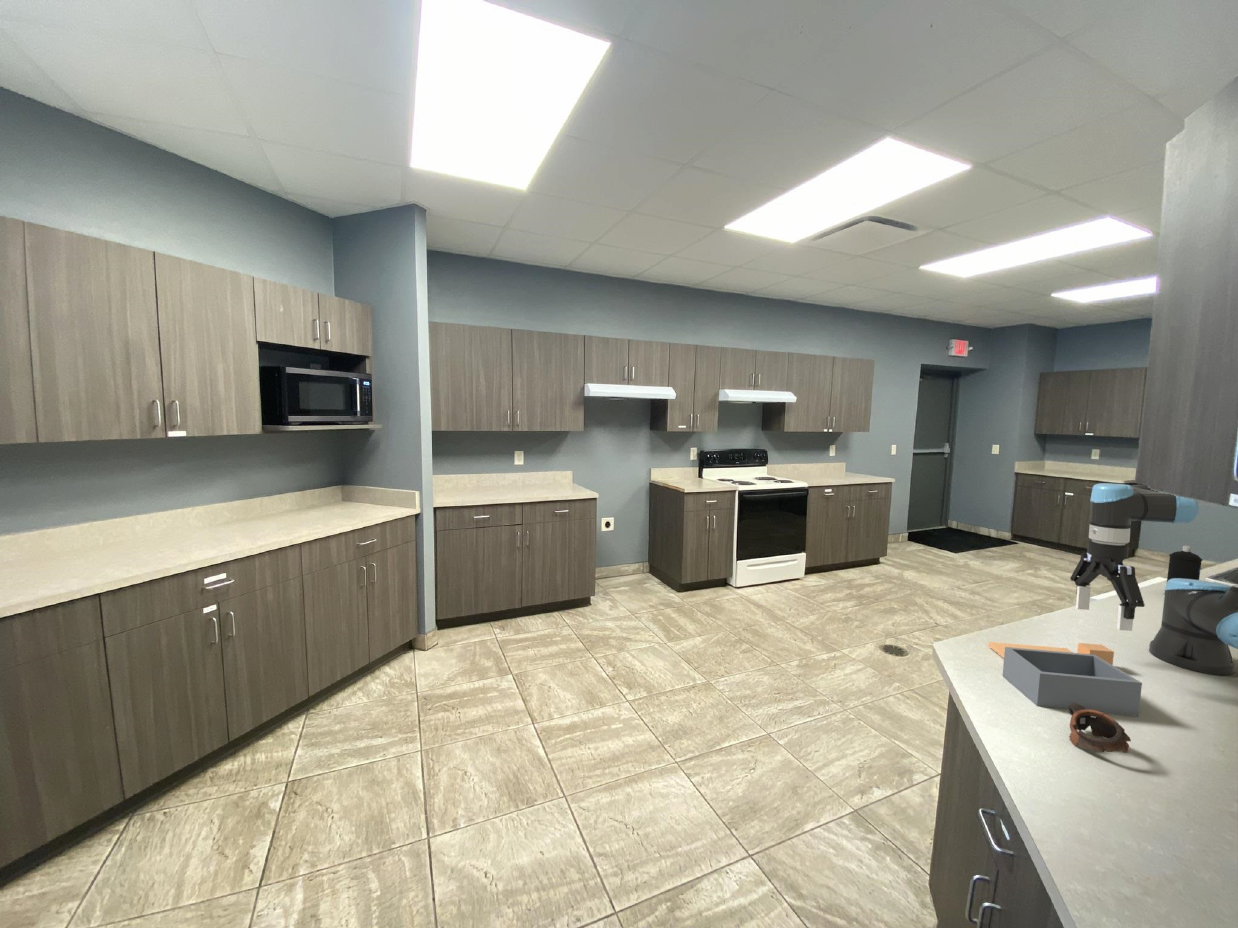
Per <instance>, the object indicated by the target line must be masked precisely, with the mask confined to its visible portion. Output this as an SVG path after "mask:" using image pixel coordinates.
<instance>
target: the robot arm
mask: <svg viewBox="0 0 1238 928" xmlns="http://www.w3.org/2000/svg"><path fill="white" fill-rule="evenodd" d="M1089 500H1090V501H1089V502H1090V510H1089V511H1090V512H1089V513H1090V514H1089V527H1088V529H1089V530H1088V538H1089V539H1090V540H1088V541H1087V549H1086V550H1087V551H1086V552H1081V554H1080V559H1079V562H1078V563H1077V565H1076V567H1075V569H1074V570H1073V572H1072V574H1071V576H1070V581H1072V582H1074V584H1075V585H1076V590H1075V591H1076V592H1075V595H1076V600H1075V601H1076V602H1075V609H1076V610H1088V611H1089V610H1090V604H1091V603H1090V601H1091V589H1092V588H1091V587H1090V586H1091V583H1092V582H1093V581H1094V580H1096V578H1098V576H1100V575H1101V576H1103V578H1106V579H1107V581H1108V582H1110V584H1111V585H1112V587H1113V588H1114V592H1115V593H1116V595H1117V596H1118V598H1119V600H1120V602H1121V603H1119V604H1118V611H1117V622H1116V623H1117V625H1116V630H1118V631H1129V632H1132V631H1133V625H1134V623H1133V622H1134V619H1135V614H1136V608H1144V607H1145V601H1144V599H1143V595H1142V592H1141V590H1140V586H1139V583H1138V581H1137V578H1136V568H1135V566H1128V565H1125V564H1124V562H1123V561H1124V560H1126V559H1128V558H1129V548H1130V546H1129V545H1128V543H1130V539H1131V538H1130V537H1131V525H1132V524H1131V523H1132V521H1133V522H1154V523H1155V522H1157V523H1171V524H1176V523H1177V524H1178V523H1179V524H1180V523H1181V524H1182V523H1183V524H1185V523H1186V524H1187V523H1191V522H1193V521H1194V520H1196V519H1197V517H1198V515H1199V509H1200V506H1202V505H1211V503H1206V502H1200V501H1198V500H1193V499H1187V498H1184V497H1179V496H1174V495H1171V494H1166V493H1161V492H1159V491H1154V490H1151V489H1150V488H1148V487H1147V486H1145V485H1140V483H1139V484H1133V485H1130V484H1124V483H1111V482H1110V483H1109V482H1108V483H1107V482H1106V483H1104V482H1103V483H1101V482H1100V483H1097V484H1094V485H1092V489H1091V496H1090V499H1089ZM1163 591H1164V593H1165V594H1164V600H1163V606H1162V607H1163V608H1162V618H1161V625H1160V628H1159V630H1158V631H1157V633H1156V635H1155V636H1154V638H1153V639H1152V640H1151V641H1150V643H1149V646H1148V651H1149V652H1148V653H1150V654H1151V655H1152V656H1154V657H1156V658H1157V659H1159V660H1161V661H1164V662H1166V663H1169V664H1172V665H1174V666H1177V667H1181V668H1183V669H1188V670H1192V671H1195V672H1199V673H1204V674H1205V673H1206V674H1210V675H1217V676H1218V675H1219V676H1229V675H1233V674H1234V673H1235V667H1236V664H1235V661H1234V660H1233V657H1232V653H1231V650H1230V648H1233V649H1236V650H1238V584H1232V585H1230V584H1225V583H1221V582H1216V581H1215V582H1214V581H1208V580H1202V579H1201V580H1200V579H1199V580H1193V579H1182V578H1173V579H1170V580H1168V581H1167V580H1166V585H1165V589H1164V590H1163Z"/></svg>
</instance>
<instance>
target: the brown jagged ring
mask: <svg viewBox="0 0 1238 928" xmlns="http://www.w3.org/2000/svg"><path fill="white" fill-rule="evenodd" d="M1067 710H1068V711H1069V714H1070V715H1071V717H1070V722H1069V729H1070V733H1069V736H1068V738H1069V741H1070V742H1071V744H1072V745H1073V746H1075V747H1077V746H1080V747H1083V748H1085V749H1089V750H1092V751H1096V752H1100V753H1105V752H1107V753H1113V752H1118V751H1119V752H1122V753H1127V752H1128V751H1129V749H1130V744H1129V743H1128V742H1131V738H1130V736H1129V735H1128V734H1127V733H1126V732H1125V728H1123V726H1122V725H1120V724H1119V722H1118V721H1117V720H1115V719H1114V718H1113V717H1111V715H1108V714H1107V713H1102V712H1099V711H1095V710H1086V709H1085V708H1084V707H1083V706H1081V705H1080V704H1078V703H1070V704H1069V705H1068V709H1067ZM1089 727H1090V730H1091V734H1092V735H1089V734H1087V733H1085V732H1084V731H1087V729H1088V728H1089ZM1098 737H1101V738H1098Z"/></svg>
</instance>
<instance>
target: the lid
mask: <svg viewBox="0 0 1238 928" xmlns="http://www.w3.org/2000/svg"><path fill="white" fill-rule="evenodd" d="M987 646H988V647H989V648H991V650H992V651H994V652H995V653H997V654H998V655H999V656H1000V657H1002V658H1003V659H1004V653H1005V647H1012V648H1023V649H1035V650H1047V651H1058V652H1070V653H1074V651H1072V650H1070V649H1069V648H1064V647H1055V646H1042V645H1032V644H1031V645H1030V644H1018V643H1017V644H1016V643H1006V642H995V641H988V645H987ZM1076 653H1082V654H1093V655H1096V656H1098V657H1100V658H1101V659H1103V660H1105V661H1106V662H1108V663H1110V664H1111V665H1113V663H1114V654H1115V651H1114V650H1112V649H1109V648H1108V647H1106V646H1104V645H1103V644H1099V643H1098V644H1095V643H1084V642H1078V643H1077V652H1076ZM1113 666H1114V665H1113Z"/></svg>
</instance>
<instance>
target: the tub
mask: <svg viewBox="0 0 1238 928" xmlns="http://www.w3.org/2000/svg"><path fill="white" fill-rule="evenodd" d="M1002 665H1003V667H1002V677H1003V678H1004V679H1005V680H1006V681H1007V682H1008V683H1010V684H1011V685H1012V686H1013V687H1014V688H1015V689H1017V690H1018V692H1020V693H1021V694H1023V695H1024V696H1025V697H1026V698H1027V699H1028V700H1030V702H1031V703H1033V704H1034V705H1035V706H1036V707H1043V708H1044V707H1046V708H1054V709H1062V710H1068V705H1069V704H1070V703H1078V704H1080V705H1081V706H1083V707H1084V708H1085V709H1086V710H1095V711H1099V712H1102V713H1103V714H1111V715H1119V716H1129V717H1130V716H1131V717H1139V712H1140V705H1141V697H1142V696H1141V695H1142V687H1143V682H1141V681H1140V680H1138V679H1136V678H1135V677H1133V676H1132V675H1129V674H1128V673H1126V672H1125V671H1123V670H1121V669H1120V668H1118V667H1116V666H1115V665H1111V664H1110V663H1108V662H1106V661H1105V660H1103V659H1101V658H1100V657H1098V656H1096V655H1093V654H1082V653H1077V652H1073V653H1070V652H1058V651H1047V650H1035V649H1023V648H1012V647H1005V653H1004V658H1003V664H1002Z"/></svg>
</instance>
